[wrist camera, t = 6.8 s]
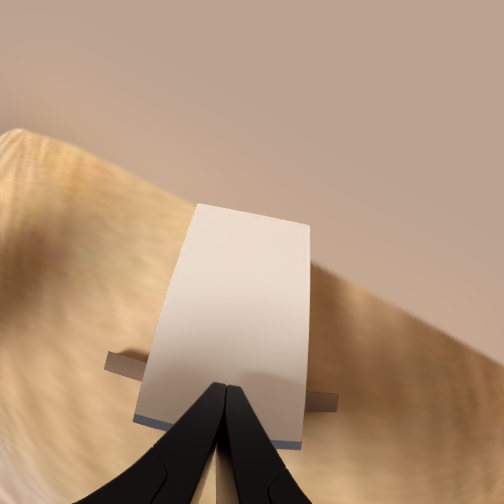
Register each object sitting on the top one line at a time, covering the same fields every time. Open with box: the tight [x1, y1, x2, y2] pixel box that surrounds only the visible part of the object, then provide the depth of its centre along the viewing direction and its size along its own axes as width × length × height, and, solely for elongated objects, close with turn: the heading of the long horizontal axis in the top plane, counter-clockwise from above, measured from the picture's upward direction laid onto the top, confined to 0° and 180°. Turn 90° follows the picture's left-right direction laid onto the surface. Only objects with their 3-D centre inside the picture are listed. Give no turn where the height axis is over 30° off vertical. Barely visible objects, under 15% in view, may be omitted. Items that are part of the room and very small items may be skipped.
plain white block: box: [133, 203, 310, 450], centre depth 13 cm, size 4×6×10 cm
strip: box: [104, 351, 338, 412], centre depth 13 cm, size 1×12×1 cm, turn 81°
